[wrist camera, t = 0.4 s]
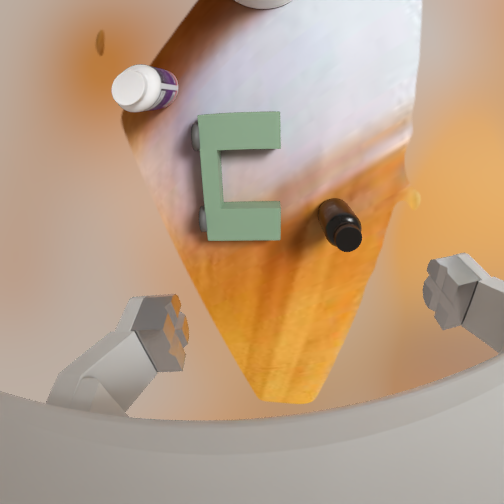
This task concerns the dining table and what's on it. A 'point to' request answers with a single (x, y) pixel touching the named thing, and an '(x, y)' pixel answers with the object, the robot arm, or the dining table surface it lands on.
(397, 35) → the dining table surface
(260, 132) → the green u-shaped block
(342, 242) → the supplement bottle
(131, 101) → the pill bottle
